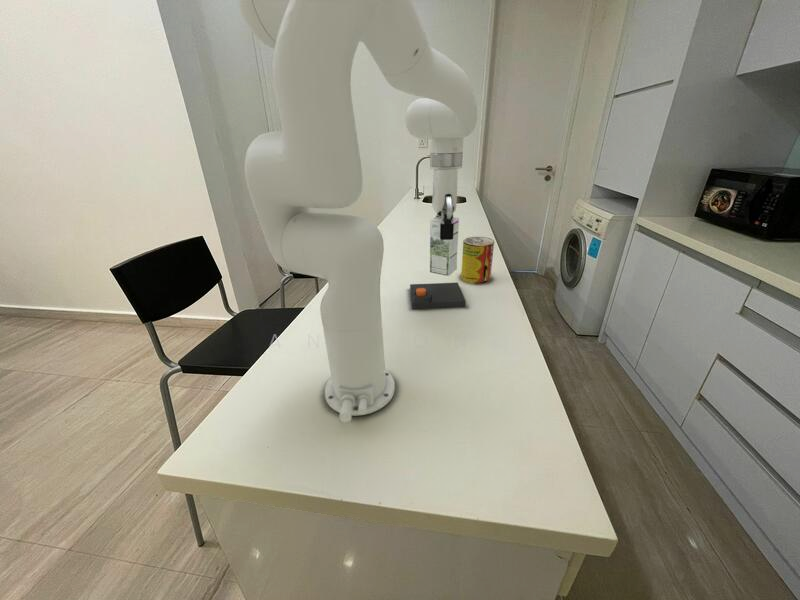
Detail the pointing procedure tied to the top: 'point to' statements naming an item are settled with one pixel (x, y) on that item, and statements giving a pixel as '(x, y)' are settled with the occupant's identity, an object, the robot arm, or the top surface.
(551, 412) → the top surface
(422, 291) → the button
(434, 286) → the scale
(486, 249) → the yellow red tin can
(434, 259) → the syrup box
